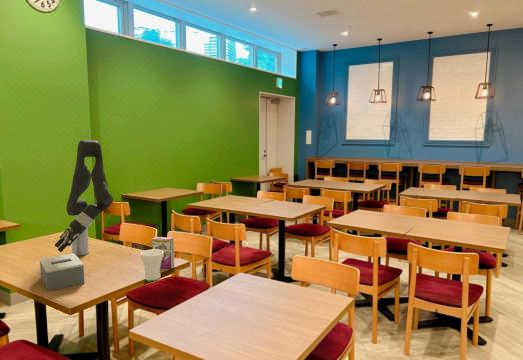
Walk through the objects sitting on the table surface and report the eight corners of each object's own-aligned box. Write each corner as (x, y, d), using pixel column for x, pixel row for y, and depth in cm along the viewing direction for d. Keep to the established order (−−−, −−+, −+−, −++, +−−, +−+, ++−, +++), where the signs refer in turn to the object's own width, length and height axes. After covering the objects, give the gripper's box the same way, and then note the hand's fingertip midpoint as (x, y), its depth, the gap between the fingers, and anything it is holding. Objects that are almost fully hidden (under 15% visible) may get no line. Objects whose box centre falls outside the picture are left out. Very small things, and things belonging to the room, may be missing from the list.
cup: (157, 273, 202) (156, 247, 200) (168, 279, 194) (167, 252, 192) (137, 279, 194) (136, 252, 192) (147, 285, 186) (147, 257, 184)
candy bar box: (151, 268, 210) (151, 239, 208) (155, 264, 215) (154, 236, 213) (171, 268, 209) (171, 239, 207) (174, 265, 214) (174, 237, 212)
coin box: (41, 278, 194) (39, 259, 193) (75, 271, 204) (74, 253, 203) (47, 291, 179) (46, 270, 177) (84, 283, 188) (83, 263, 187)
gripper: (72, 215, 197) (48, 241, 192) (78, 221, 186) (53, 248, 181) (83, 224, 201) (60, 249, 196) (90, 230, 190) (66, 256, 185)
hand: (57, 248), depth 188 cm, fingers open, 8 cm apart
